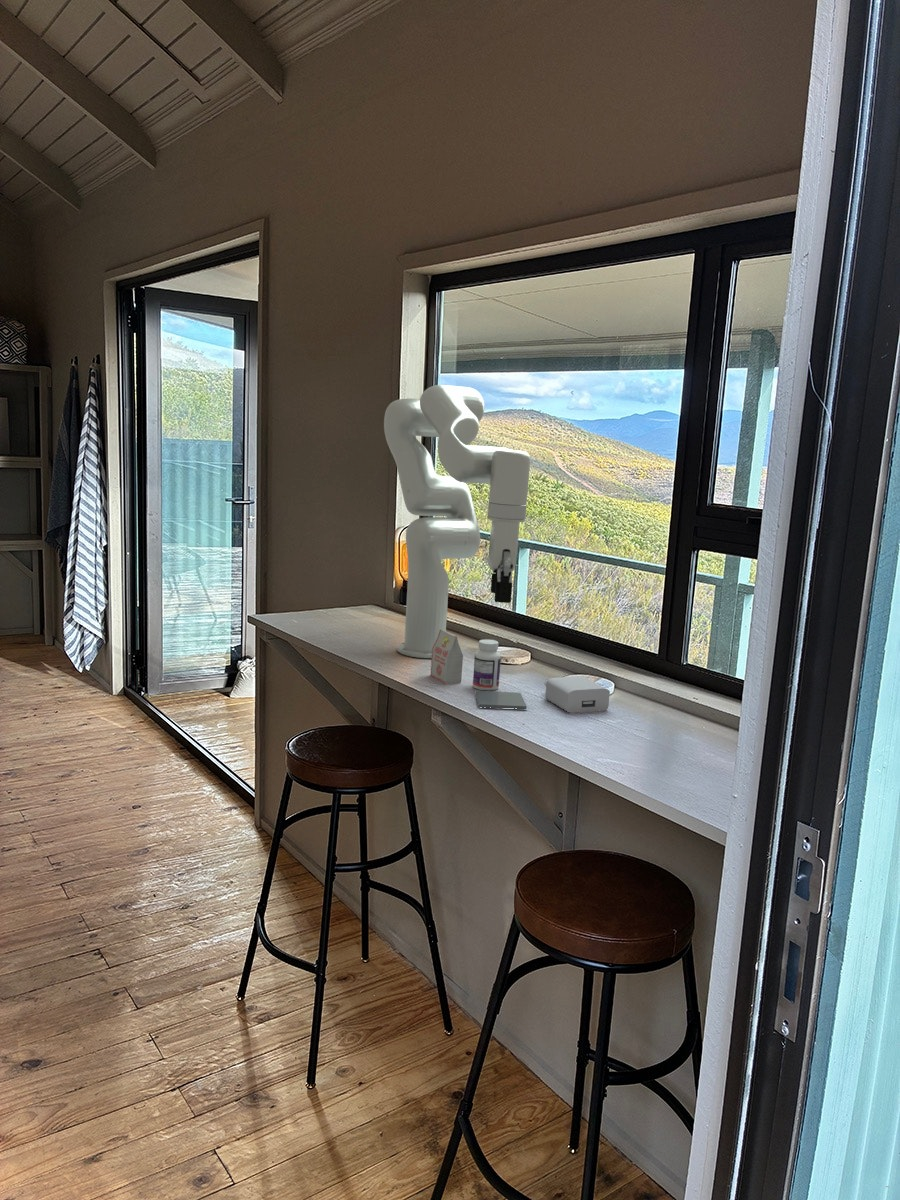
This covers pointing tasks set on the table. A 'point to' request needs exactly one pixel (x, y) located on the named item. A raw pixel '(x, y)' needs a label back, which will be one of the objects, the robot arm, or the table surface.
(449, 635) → the milk carton
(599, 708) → the charger
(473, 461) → the robot arm
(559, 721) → the table surface
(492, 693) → the coaster
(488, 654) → the pill bottle
